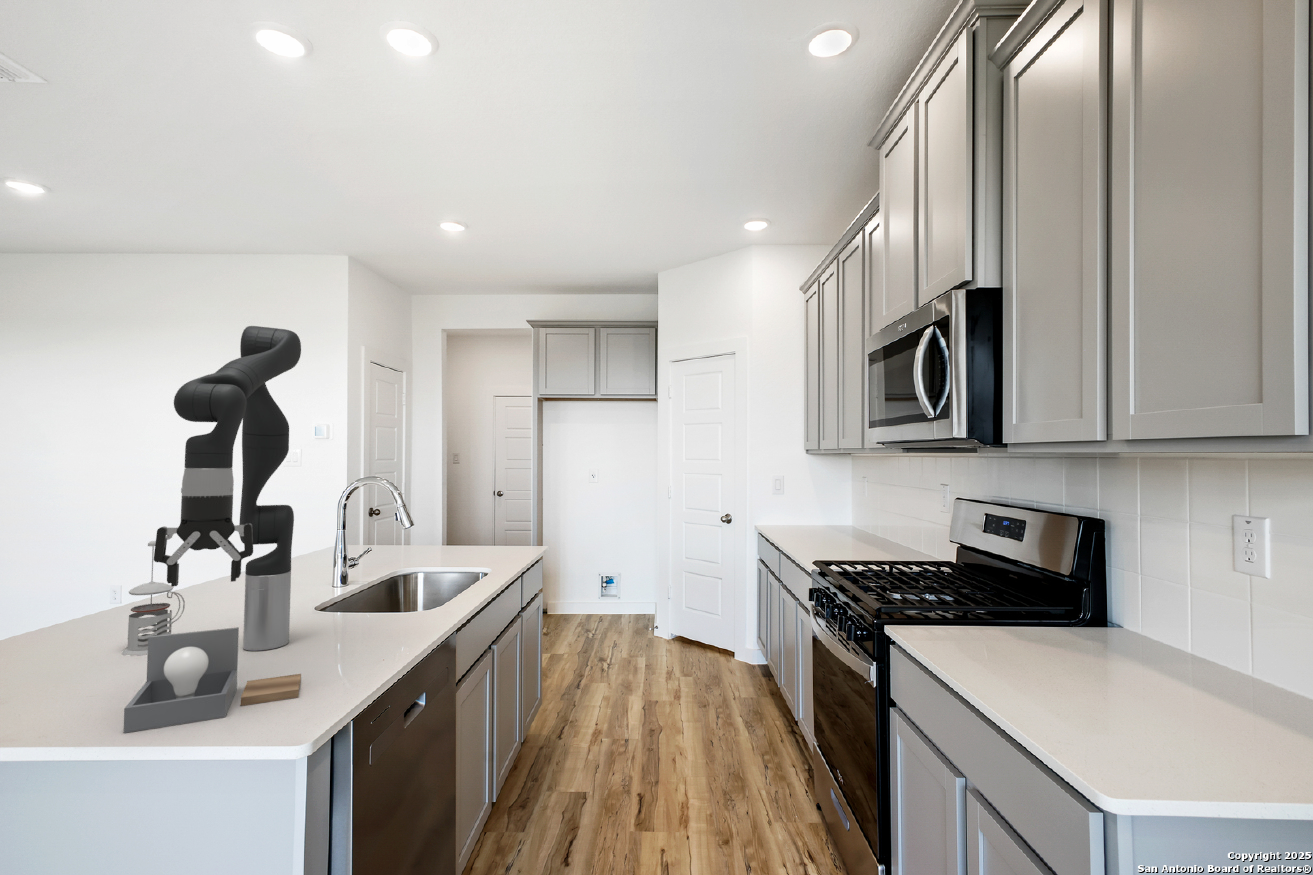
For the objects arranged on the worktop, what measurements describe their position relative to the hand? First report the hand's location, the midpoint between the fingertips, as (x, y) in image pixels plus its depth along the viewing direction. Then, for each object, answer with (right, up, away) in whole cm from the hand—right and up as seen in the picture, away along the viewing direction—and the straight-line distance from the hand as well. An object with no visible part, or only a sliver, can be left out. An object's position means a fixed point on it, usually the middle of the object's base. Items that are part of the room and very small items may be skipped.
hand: (204, 583), depth 109 cm
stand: (+8, -23, +7) cm, 25 cm away
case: (-2, -22, -1) cm, 22 cm away
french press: (-36, -23, +32) cm, 53 cm away
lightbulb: (-2, -22, -1) cm, 23 cm away
